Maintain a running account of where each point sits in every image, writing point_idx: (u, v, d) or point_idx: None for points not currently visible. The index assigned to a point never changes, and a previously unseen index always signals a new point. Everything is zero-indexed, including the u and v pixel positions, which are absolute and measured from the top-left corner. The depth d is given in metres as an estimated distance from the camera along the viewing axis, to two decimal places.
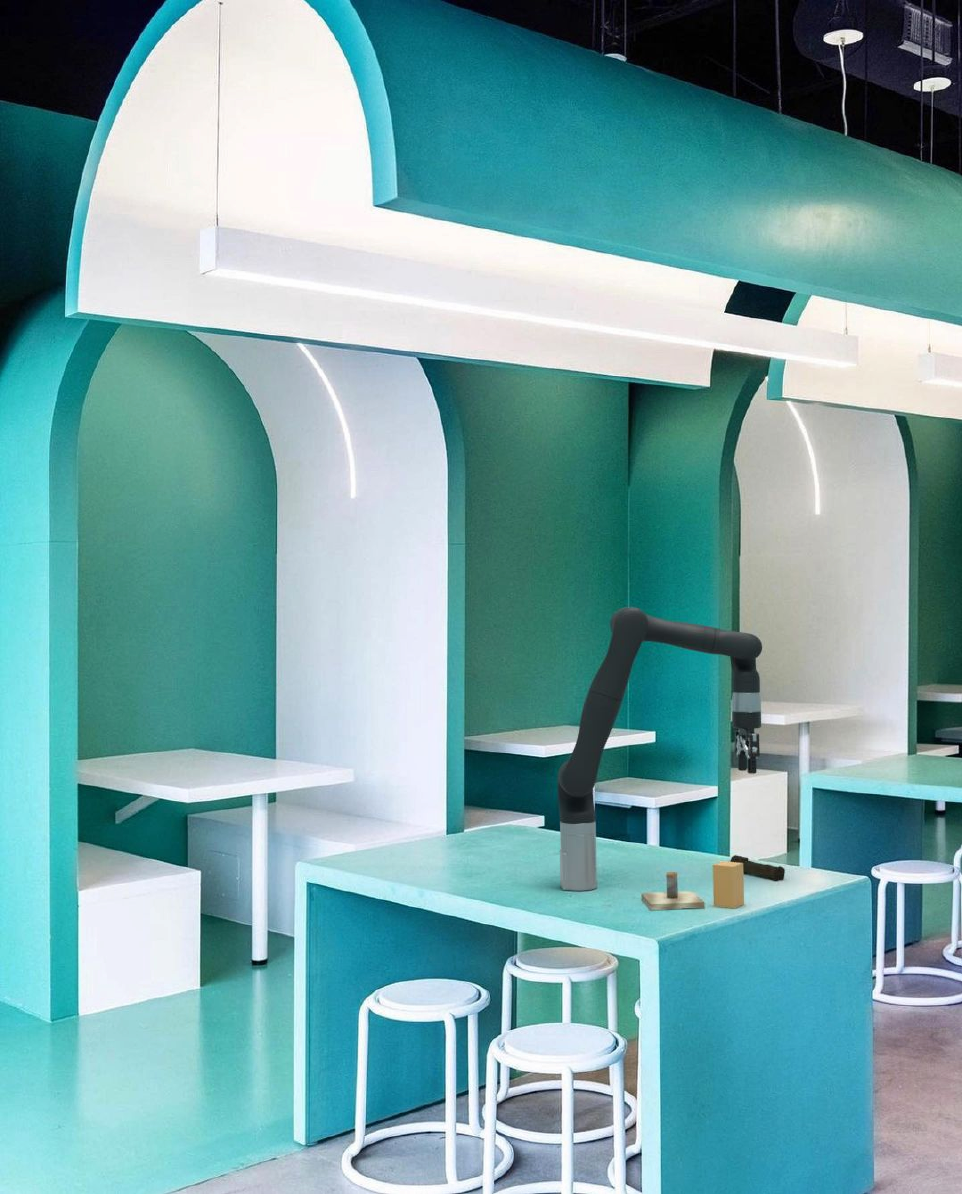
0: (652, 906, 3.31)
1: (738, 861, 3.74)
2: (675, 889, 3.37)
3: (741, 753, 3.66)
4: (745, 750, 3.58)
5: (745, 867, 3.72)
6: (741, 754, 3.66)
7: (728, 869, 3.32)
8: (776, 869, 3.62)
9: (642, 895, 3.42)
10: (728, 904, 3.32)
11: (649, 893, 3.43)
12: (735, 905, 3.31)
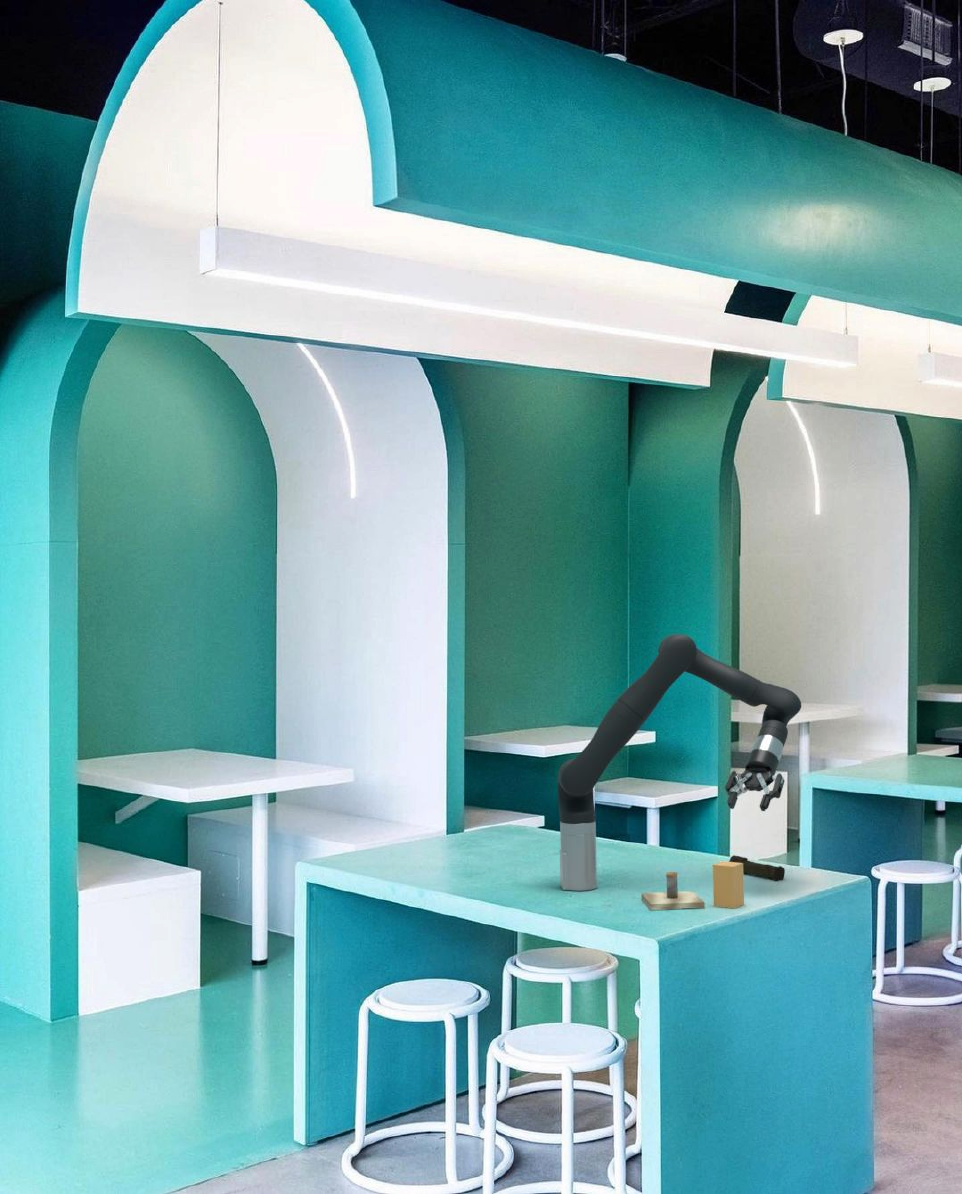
0: (652, 906, 3.31)
1: (738, 861, 3.74)
2: (675, 889, 3.37)
3: (736, 792, 3.48)
4: (764, 786, 3.44)
5: (745, 867, 3.71)
6: (735, 792, 3.48)
7: (728, 869, 3.32)
8: (776, 869, 3.62)
9: (642, 895, 3.42)
10: (728, 904, 3.32)
11: (649, 893, 3.43)
12: (735, 905, 3.31)
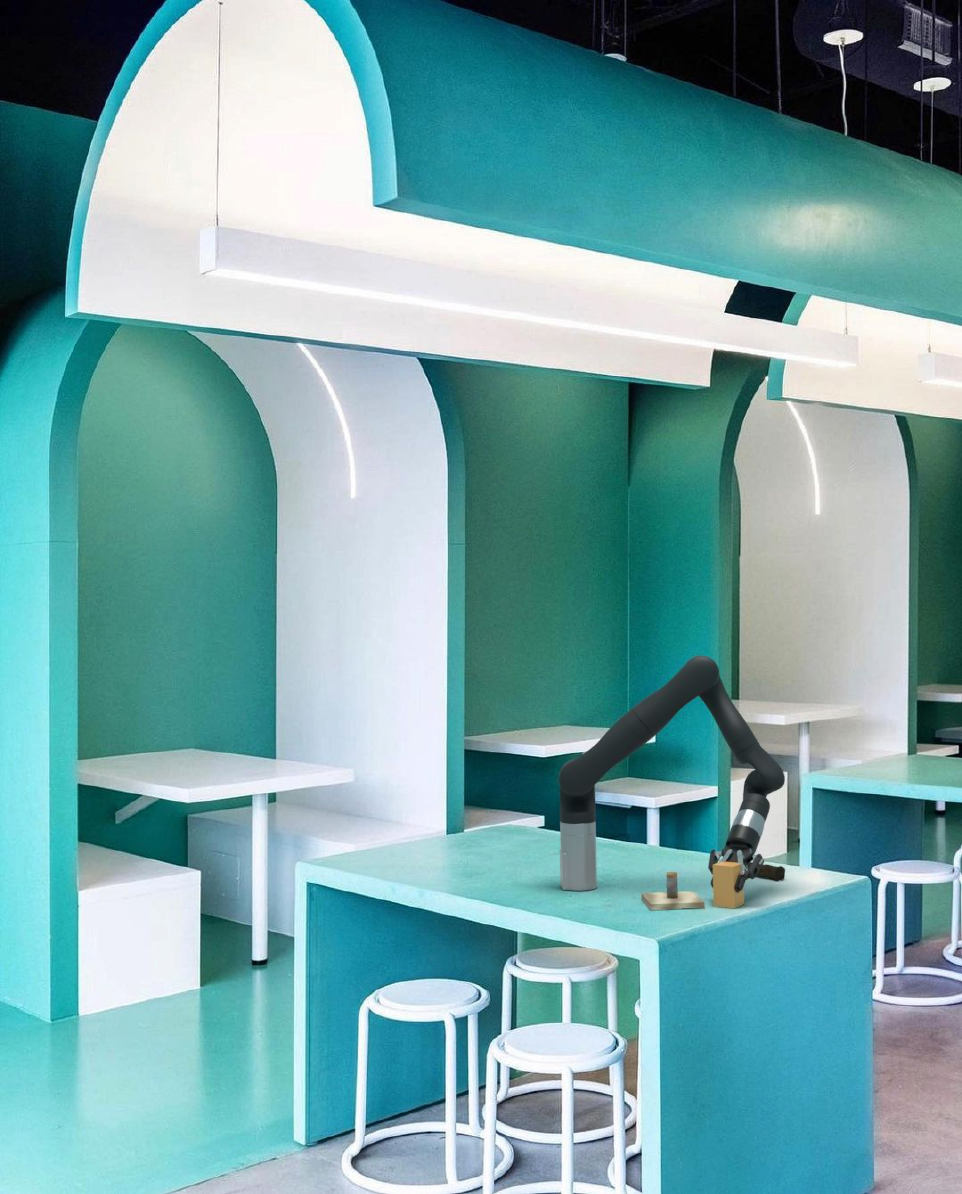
0: (652, 906, 3.31)
1: None
2: (675, 889, 3.37)
3: None
4: (741, 866, 3.34)
5: None
6: None
7: (728, 869, 3.32)
8: (777, 869, 3.62)
9: (642, 895, 3.42)
10: (728, 904, 3.32)
11: (649, 893, 3.43)
12: (735, 905, 3.31)
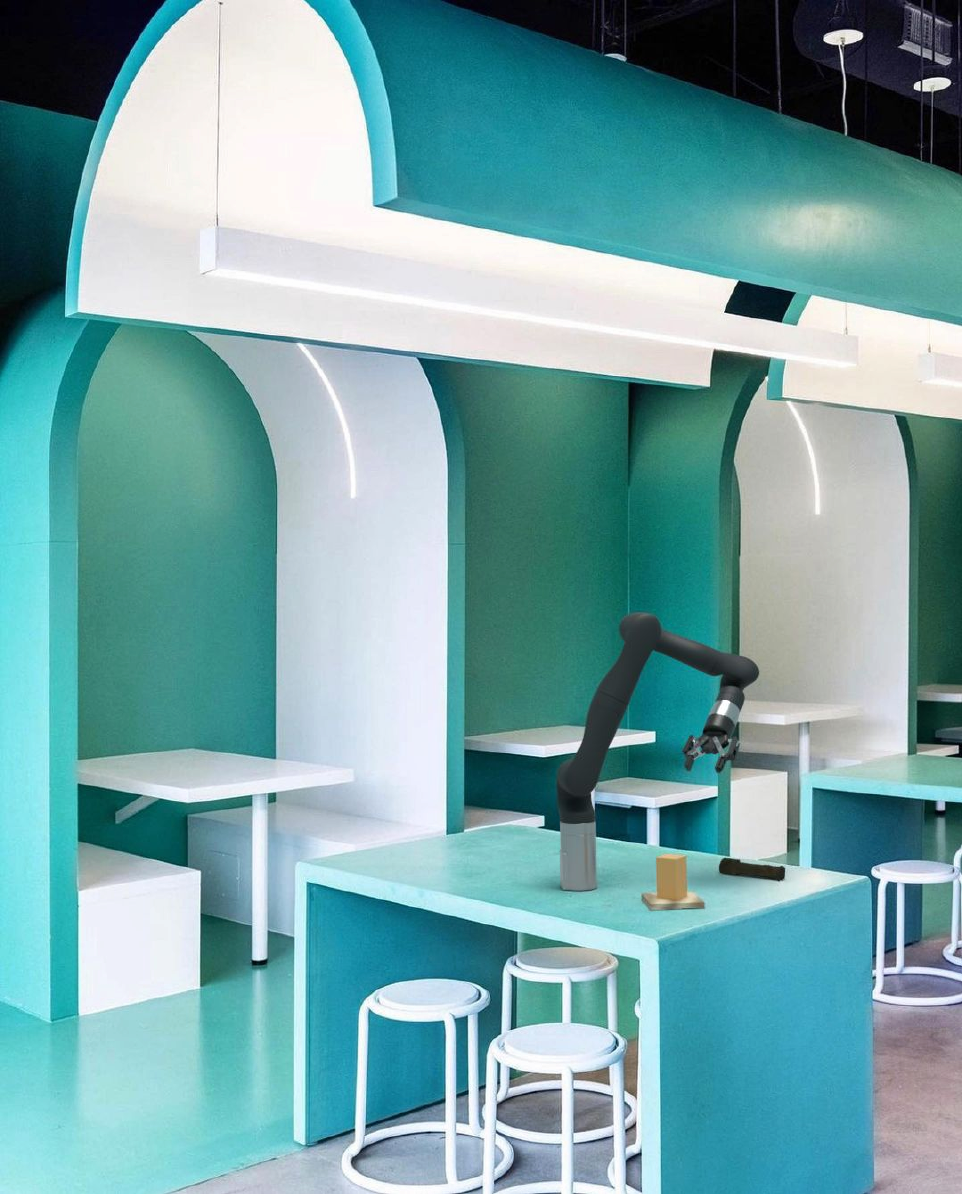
0: (652, 906, 3.31)
1: (732, 863, 3.71)
2: None
3: (693, 755, 3.58)
4: (720, 749, 3.53)
5: (741, 868, 3.69)
6: (692, 755, 3.57)
7: (671, 861, 3.35)
8: (780, 869, 3.62)
9: (642, 895, 3.42)
10: (671, 896, 3.35)
11: (649, 893, 3.43)
12: (678, 897, 3.35)
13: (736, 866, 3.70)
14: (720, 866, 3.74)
